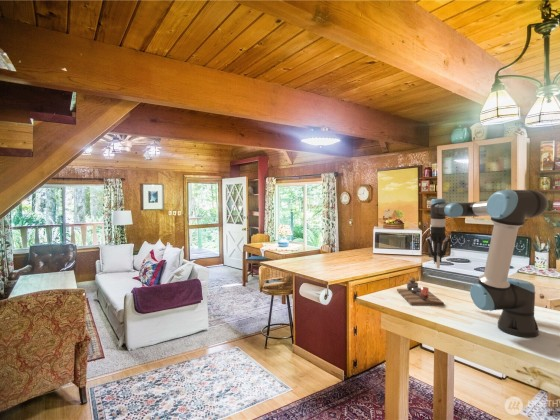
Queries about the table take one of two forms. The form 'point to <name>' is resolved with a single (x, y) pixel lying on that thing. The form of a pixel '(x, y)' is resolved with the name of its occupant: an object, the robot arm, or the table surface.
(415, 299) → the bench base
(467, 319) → the table surface
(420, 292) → the lever
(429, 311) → the table surface
